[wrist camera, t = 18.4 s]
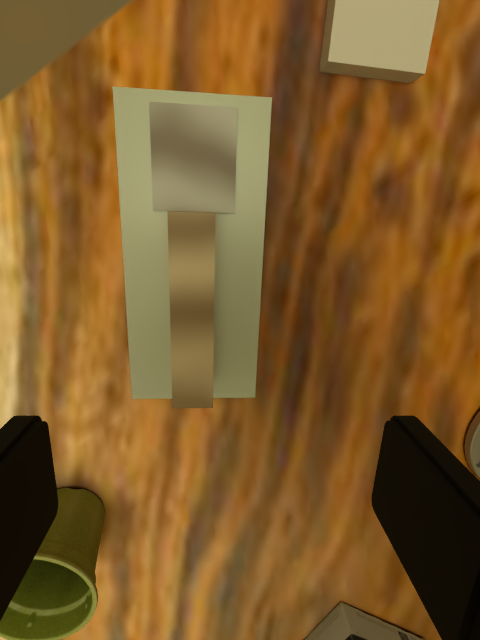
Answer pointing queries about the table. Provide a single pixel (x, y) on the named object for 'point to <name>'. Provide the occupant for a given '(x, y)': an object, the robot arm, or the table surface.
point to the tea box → (356, 627)
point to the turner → (192, 230)
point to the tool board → (230, 247)
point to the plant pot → (60, 574)
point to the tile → (378, 38)
